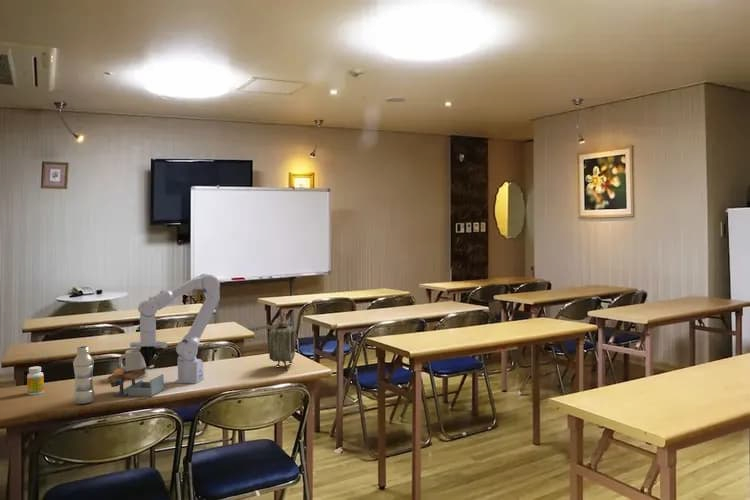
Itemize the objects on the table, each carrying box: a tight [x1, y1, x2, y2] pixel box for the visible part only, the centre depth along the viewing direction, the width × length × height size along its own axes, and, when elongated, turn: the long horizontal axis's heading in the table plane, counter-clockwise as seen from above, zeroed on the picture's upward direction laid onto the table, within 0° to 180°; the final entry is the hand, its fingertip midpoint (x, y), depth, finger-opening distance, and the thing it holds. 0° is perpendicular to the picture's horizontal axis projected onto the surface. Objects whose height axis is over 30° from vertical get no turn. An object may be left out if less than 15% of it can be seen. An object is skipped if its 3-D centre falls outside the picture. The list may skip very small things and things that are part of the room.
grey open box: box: [127, 374, 165, 398], centre depth 216 cm, size 9×9×6 cm
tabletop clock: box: [268, 310, 296, 370], centre depth 252 cm, size 14×9×25 cm, turn 179°
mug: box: [118, 348, 149, 381], centre depth 240 cm, size 12×8×11 cm
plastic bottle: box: [72, 345, 96, 405], centre depth 204 cm, size 6×7×20 cm
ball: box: [112, 367, 125, 376], centre depth 217 cm, size 4×4×4 cm
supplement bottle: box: [26, 365, 45, 396], centre depth 217 cm, size 5×5×10 cm
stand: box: [113, 378, 136, 398], centre depth 217 cm, size 5×11×7 cm, turn 172°
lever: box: [107, 364, 155, 388], centre depth 220 cm, size 11×13×4 cm
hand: (149, 365), depth 224 cm, fingers closed
